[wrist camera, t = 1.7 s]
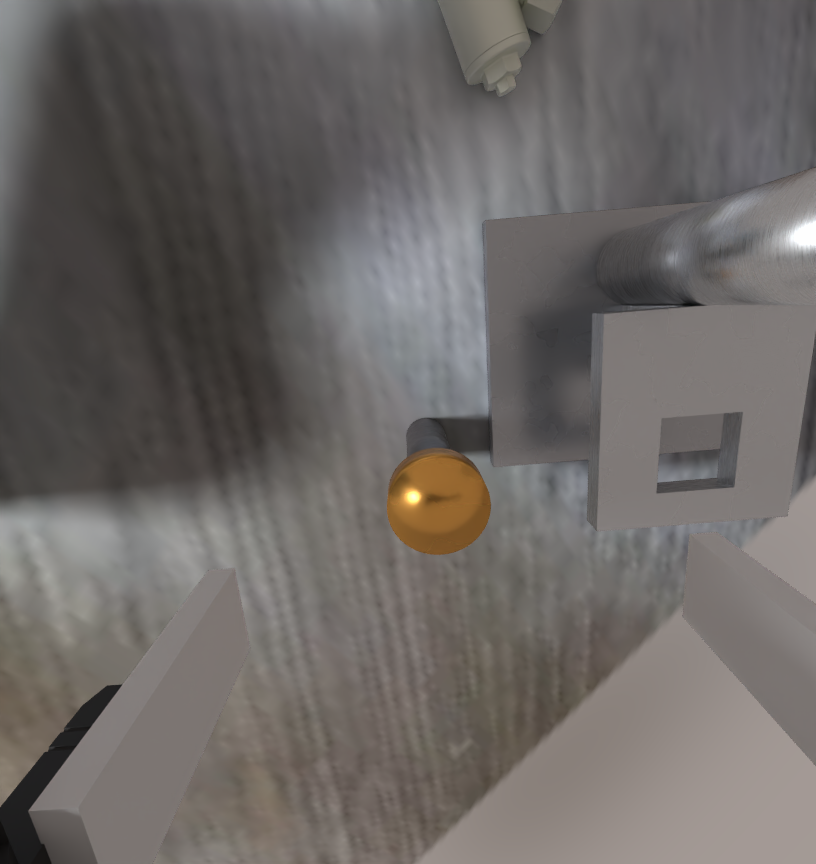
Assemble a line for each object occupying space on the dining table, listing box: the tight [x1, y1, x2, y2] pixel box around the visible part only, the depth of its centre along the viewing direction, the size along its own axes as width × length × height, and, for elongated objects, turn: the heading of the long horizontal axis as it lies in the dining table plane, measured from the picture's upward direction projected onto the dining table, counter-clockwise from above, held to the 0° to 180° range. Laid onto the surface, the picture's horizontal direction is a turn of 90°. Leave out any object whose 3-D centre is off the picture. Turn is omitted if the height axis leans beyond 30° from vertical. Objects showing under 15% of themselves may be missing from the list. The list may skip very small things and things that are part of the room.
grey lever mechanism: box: [483, 167, 816, 531], centre depth 20 cm, size 23×15×15 cm, turn 95°
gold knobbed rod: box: [387, 418, 491, 555], centre depth 24 cm, size 4×4×10 cm
